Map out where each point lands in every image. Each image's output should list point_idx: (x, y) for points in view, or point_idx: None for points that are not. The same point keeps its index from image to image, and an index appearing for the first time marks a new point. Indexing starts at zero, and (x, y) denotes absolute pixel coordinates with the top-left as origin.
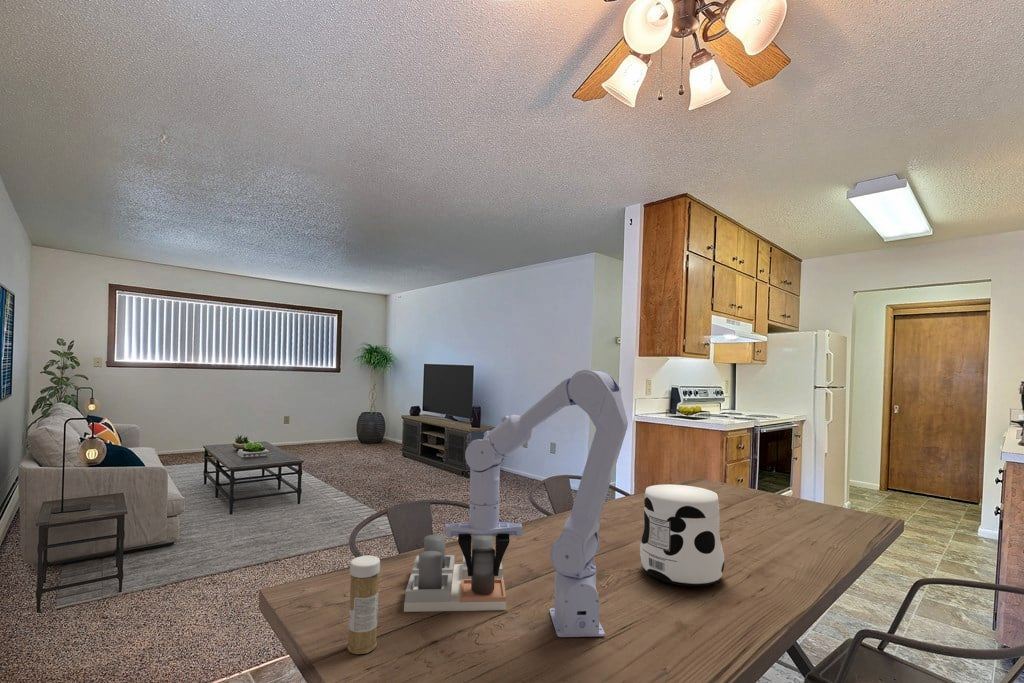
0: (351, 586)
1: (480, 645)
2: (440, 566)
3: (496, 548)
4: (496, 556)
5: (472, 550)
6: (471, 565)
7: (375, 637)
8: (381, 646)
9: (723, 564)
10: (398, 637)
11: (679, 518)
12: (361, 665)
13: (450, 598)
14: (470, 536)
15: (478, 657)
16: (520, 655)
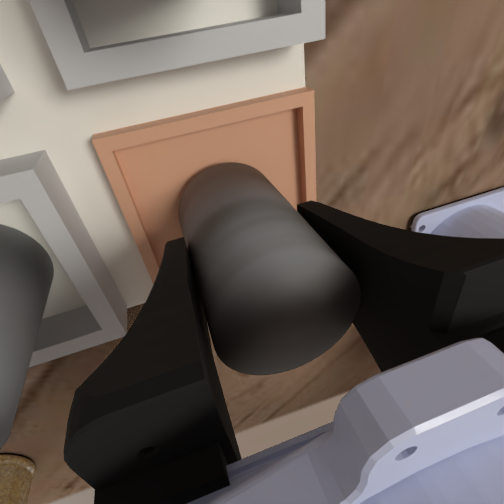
0: None
1: (250, 376)
2: (26, 372)
3: (382, 371)
4: (355, 324)
5: (215, 341)
6: (201, 302)
7: (27, 487)
8: (40, 451)
9: None
10: (55, 421)
11: None
12: (48, 488)
13: (123, 306)
14: (225, 453)
15: (252, 400)
16: (321, 372)
